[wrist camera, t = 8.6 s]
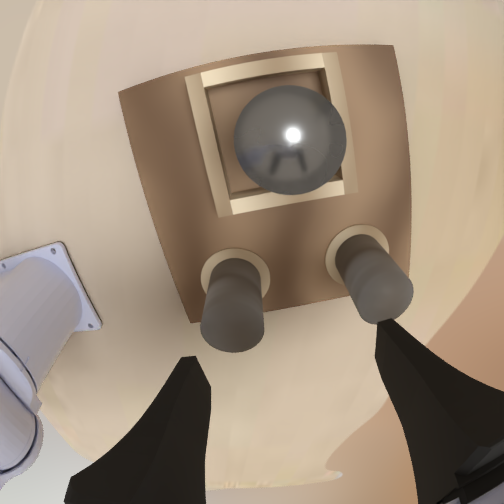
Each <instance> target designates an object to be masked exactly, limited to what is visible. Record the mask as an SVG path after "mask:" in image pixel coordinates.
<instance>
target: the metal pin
mask: <svg viewBox="0 0 504 504" xmlns="http://www.w3.org/2000/svg"><path fill="white" fill-rule="evenodd" d="M346 144H347V137H346V130H345V126H344V123H343V120H342V118H341V116H340V114H339V112H338V111H337V109H336V108H335V107H334V105H333V104H332V103H331V102H330V101H329V100H328V99H326V98H325V97H324V96H322V95H321V94H319V93H318V92H316V91H314V90H311V89H309V88H306V87H302V86H296V85H284V86H277V87H273V88H270V89H268V90H265V91H263V92H262V93H260V94H258V95H257V96H255V97H254V98H253V99H252V100H251V101H250V102H249V103H248V104H247V105H246V106H245V107H244V109H243V110H242V112H241V114H240V115H239V117H238V120H237V122H236V126H235V130H234V148H235V153H236V156H237V159H238V162H239V164H240V166H241V167H242V169H243V171H244V172H245V173H246V174H247V176H248V177H249V178H250V179H251V180H252V181H253V182H255V183H256V184H257V185H259V186H260V187H262V188H264V189H266V190H268V191H271V192H273V193H277V194H282V195H300V194H305V193H308V192H311V191H314V190H316V189H318V188H320V187H321V186H323V185H324V184H326V183H327V182H328V181H329V180H330V179H331V178H332V177H333V176H334V175H335V174H336V172H337V171H338V169H339V168H340V166H341V164H342V161H343V159H344V156H345V152H346Z"/></svg>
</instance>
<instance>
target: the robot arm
mask: <svg viewBox="0 0 504 504" xmlns="http://www.w3.org/2000/svg"><path fill="white" fill-rule="evenodd" d="M53 248H54V249H55V250H56V252H55V251H54V249H53ZM91 324H92V325H91ZM101 326H102V323H101V321H100V319H99V318H98V316H97V314H96V312H95V310H94V308H93V306H92V304H91V302H90V301H89V299H88V297H87V295H86V293H85V291H84V289H83V286H82V284H81V282H80V280H79V278H78V276H77V274H76V272H75V270H74V267H73V265H72V263H71V261H70V258H69V256H68V254H67V251H66V249H65V247H64V245H63V244H62V243H61V242H56V243H52V244H49V245H46V246H43V247H40V248H36V249H33V250H30V251H27V252H24V253H21V254H18V255H15V256H12V257H9V258H6V259H3V260H0V490H1V488H2V487H3V486H4V485H5V483H6V482H8V480H10V479H12V478H13V477H15V476H17V475H20V474H22V473H23V472H24V471H26V470H27V469H28V468H30V467H31V466H32V464H33V463H34V462H35V460H36V459H37V457H38V455H39V452H40V449H41V446H42V442H43V425H42V422H41V420H40V418H39V416H38V415H37V413H38V411H39V409H40V407H41V405H42V402H41V401H40V400H39V398H38V397H37V395H36V394H37V393H38V391H39V389H40V387H41V385H42V383H43V382H44V380H45V378H46V376H47V374H48V373H49V371H50V369H51V367H52V366H53V364H54V362H55V361H56V359H57V357H58V356H59V354H60V352H61V351H62V349H63V347H64V346H65V344H66V342H67V341H68V339H69V337H70V336H71V334H72V333H73V332H78V331H90V330H99V329H100V328H101ZM375 359H376V363H377V366H378V369H379V372H380V375H381V378H382V381H383V383H384V385H385V387H386V390H387V392H388V394H389V396H390V399H391V401H392V403H393V405H394V407H395V410H396V412H397V414H398V417H399V419H400V421H401V424H402V427H403V430H404V433H405V437H406V440H407V444H408V448H409V452H410V457H411V461H412V465H413V471H414V476H415V482H416V489H417V496H418V504H504V392H503V391H501V390H498V389H495V388H493V387H490V386H488V385H486V384H483V383H482V382H479V381H477V380H475V379H473V378H471V377H469V376H468V375H466V374H464V373H462V372H460V371H459V370H457V369H456V368H454V367H452V366H451V365H449V364H448V363H446V362H445V361H444V360H442V359H441V358H440V357H438V356H437V355H435V354H434V353H433V352H431V351H430V350H429V349H428V348H426V347H425V346H424V345H423V344H421V343H420V342H419V341H418V340H417V339H415V338H414V337H413V336H412V335H411V334H410V333H408V332H407V331H406V330H405V329H404V328H403V327H401V326H400V325H399V324H398V323H397V322H396V321H394V320H393V319H392V318H390V319H387V320H383V321H379V322H377V336H376V349H375ZM210 414H211V386H210V384H209V382H208V380H207V378H206V376H205V374H204V372H203V370H202V368H201V366H200V364H199V362H198V360H197V358H196V356H189V357H181V359H180V360H179V362H178V363H177V365H176V366H175V368H174V370H173V371H172V373H171V375H170V376H169V378H168V379H167V381H166V383H165V384H164V386H163V387H162V389H161V390H160V392H159V393H158V395H157V396H156V398H155V399H154V401H153V402H152V404H151V405H150V406H149V408H148V409H147V410H146V412H145V413H144V414H143V416H142V417H141V418H140V419H139V421H138V422H137V423H136V424H135V425H134V427H133V428H132V429H131V430H130V431H129V432H128V433H127V434H126V435H125V436H124V437H123V438H122V439H121V440H120V441H119V442H118V443H117V444H116V445H115V446H114V447H113V448H112V449H111V450H109V451H108V452H107V453H106V454H105V455H103V456H102V457H101V458H99V459H98V460H97V461H95V462H94V463H93V464H91V465H90V466H88V467H87V468H85V469H84V470H82V471H80V472H79V473H77V474H76V475H74V476H72V477H71V479H70V482H69V485H68V488H67V492H66V495H65V499H64V502H65V504H206V499H205V498H206V497H205V454H206V446H207V438H208V430H209V422H210Z"/></svg>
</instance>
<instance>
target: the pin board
mask: <svg viewBox="0 0 504 504" xmlns="http://www.w3.org/2000/svg"><path fill="white" fill-rule="evenodd" d="M284 85H296V86H302V87H306V88H309V89H311V90H314V91H316V92H318V93H319V94H321V95H322V96H324V97H325V98H326V99H328V100H329V101H330V102H331V103H332V104H333V105H334V107H335V108H336V109H337V111H338V112H339V114H340V116H341V118H342V120H343V123H344V126H345V130H346V137H347V144H346V152H345V156H344V159H343V161H342V164H341V166H340V168H339V169H338V171H337V172H336V174H335V175H334V176H333V177H332V178H331V179H330V180H329V181H328V182H327V183H326V184H324V185H323V186H321V187H320V188H318V189H316V190H314V191H311V192H308V193H305V194H300V195H282V194H277V193H273V192H271V191H268V190H266V189H264V188H262V187H260V186H259V185H257V184H256V183H255V182H253V181H252V180H251V179H250V178H249V177H248V176H247V174H246V173H245V172H244V171H243V169H242V167H241V166H240V164H239V162H238V159H237V156H236V153H235V148H234V130H235V126H236V122H237V120H238V117H239V115H240V114H241V112H242V110H243V109H244V107H245V106H246V105H247V104H248V103H249V102H250V101H251V100H252V99H253V98H254V97H255V96H257V95H258V94H260V93H262V92H263V91H265V90H268V89H270V88H273V87H277V86H284ZM118 94H119V99H120V103H121V108H122V112H123V116H124V120H125V124H126V129H127V133H128V136H129V140H130V144H131V148H132V152H133V155H134V159H135V163H136V166H137V170H138V173H139V177H140V180H141V184H142V187H143V190H144V194H145V197H146V200H147V203H148V207H149V210H150V213H151V216H152V219H153V222H154V225H155V228H156V231H157V234H158V237H159V240H160V243H161V246H162V249H163V252H164V255H165V258H166V260H167V263H168V266H169V269H170V271H171V274H172V277H173V280H174V282H175V285H176V288H177V290H178V293H179V295H180V298H181V301H182V303H183V306H184V308H185V311H186V313H187V316H188V318H189V321H190V323H196V322H201V325H200V330H201V334H202V336H203V338H204V339H205V341H206V342H207V343H208V344H209V345H211V346H212V347H214V348H216V349H218V350H221V351H224V352H231V353H236V352H243V351H247V350H249V349H251V348H253V347H254V346H256V345H257V344H258V343H259V342H260V341H261V339H262V337H263V335H264V318H263V312H267V311H273V310H279V309H284V308H290V307H295V306H300V305H306V304H311V303H316V302H321V301H326V300H331V299H335V298H340V297H345V296H351V298H352V300H353V302H354V304H355V306H356V308H357V310H358V312H359V314H360V316H361V318H362V319H363V320H364V321H366V322H368V323H370V324H377V322H379V321H383V320H387V319H390V318H392V319H393V320H394V319H396V318H398V317H399V316H400V315H401V314H402V313H403V312H404V311H405V310H406V309H407V308H408V306H409V304H410V303H411V300H412V297H413V284H412V282H411V280H410V279H409V266H410V250H411V172H410V155H409V143H408V132H407V123H406V114H405V107H404V100H403V93H402V87H401V81H400V76H399V70H398V65H397V60H396V56H395V51H394V47H393V45H330V46H314V47H303V48H293V49H284V50H277V51H270V52H263V53H257V54H251V55H245V56H240V57H235V58H230V59H225V60H221V61H216V62H212V63H208V64H204V65H200V66H196V67H192V68H189V69H185V70H181V71H178V72H175V73H171V74H168V75H165V76H162V77H159V78H156V79H153V80H150V81H147V82H144V83H141V84H138V85H136V86H133V87H130V88H127V89H125V90H122V91H120V92H118Z"/></svg>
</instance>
